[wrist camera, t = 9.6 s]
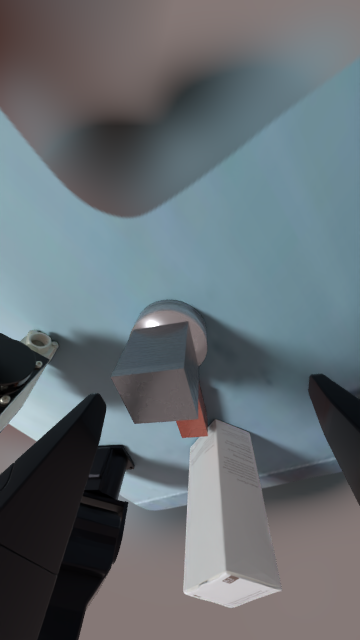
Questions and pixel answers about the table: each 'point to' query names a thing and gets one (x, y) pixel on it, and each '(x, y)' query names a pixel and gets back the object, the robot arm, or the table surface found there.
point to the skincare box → (227, 522)
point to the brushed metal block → (159, 374)
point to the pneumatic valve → (21, 370)
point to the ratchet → (182, 312)
